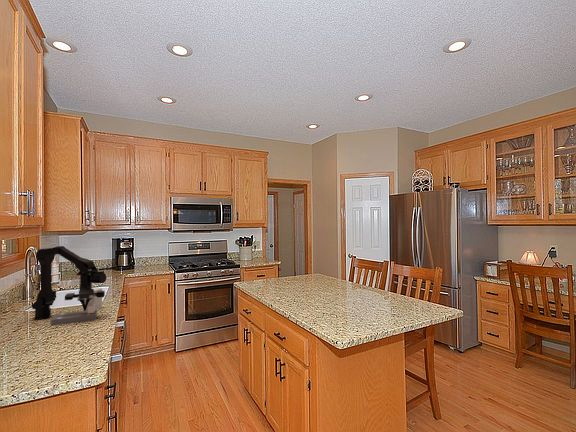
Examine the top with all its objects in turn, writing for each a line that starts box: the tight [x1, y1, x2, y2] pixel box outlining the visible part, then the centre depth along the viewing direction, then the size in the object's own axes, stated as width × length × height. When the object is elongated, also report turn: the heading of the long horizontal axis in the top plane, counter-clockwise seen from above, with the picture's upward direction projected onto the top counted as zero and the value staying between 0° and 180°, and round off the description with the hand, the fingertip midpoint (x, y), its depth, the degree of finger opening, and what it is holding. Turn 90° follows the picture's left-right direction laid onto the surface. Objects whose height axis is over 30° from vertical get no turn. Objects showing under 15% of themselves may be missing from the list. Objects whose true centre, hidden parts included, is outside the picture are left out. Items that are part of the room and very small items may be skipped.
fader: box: [88, 303, 95, 313], centre depth 177 cm, size 3×5×4 cm, turn 28°
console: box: [50, 310, 98, 326], centre depth 173 cm, size 20×12×3 cm, turn 118°
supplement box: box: [85, 287, 103, 311], centre depth 194 cm, size 7×7×13 cm
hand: (85, 310), depth 175 cm, fingers closed
